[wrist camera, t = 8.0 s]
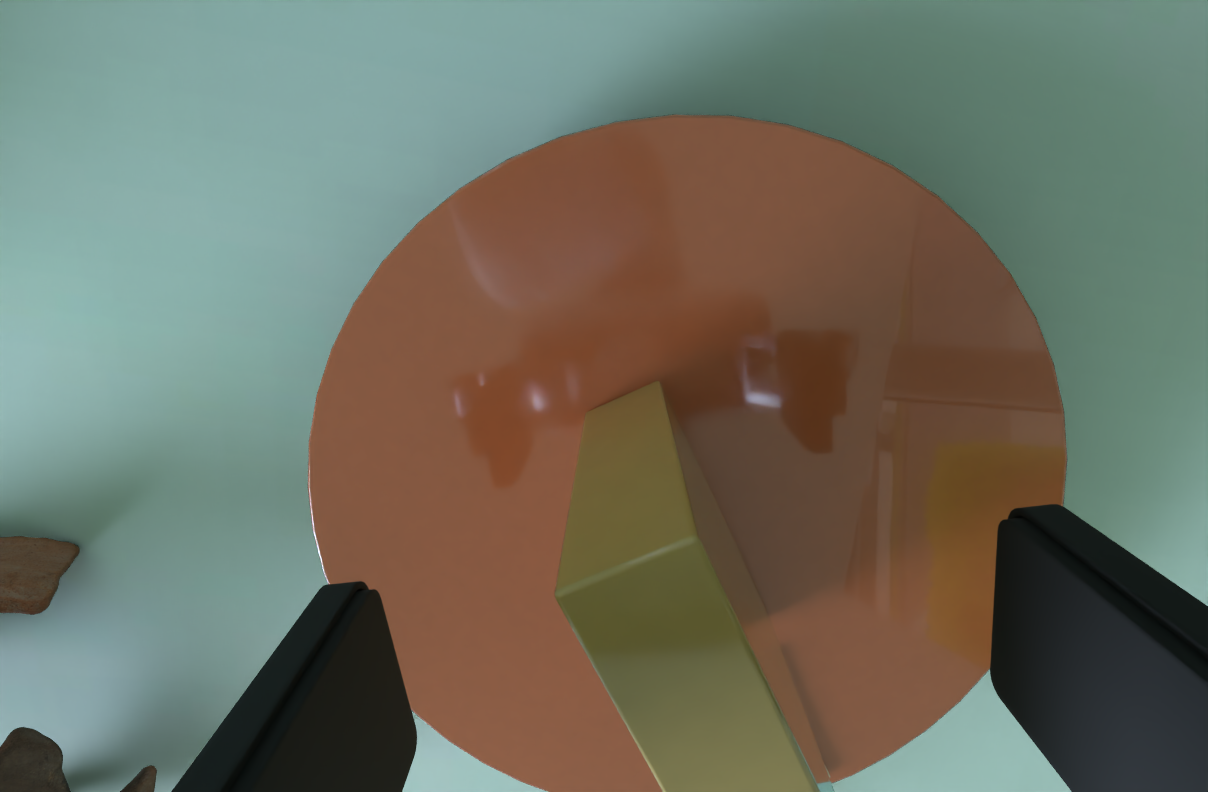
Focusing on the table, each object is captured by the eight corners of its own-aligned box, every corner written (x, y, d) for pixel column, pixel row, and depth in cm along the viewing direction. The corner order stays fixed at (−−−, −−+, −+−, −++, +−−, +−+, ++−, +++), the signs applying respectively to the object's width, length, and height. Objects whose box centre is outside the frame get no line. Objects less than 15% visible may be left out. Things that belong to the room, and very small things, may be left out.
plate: (912, -45, 12) (1363, -438, 5) (1127, 658, 16) (1551, 1032, 9) (175, 334, 15) (-284, 461, 7) (523, 868, 19) (459, 1304, 11)
